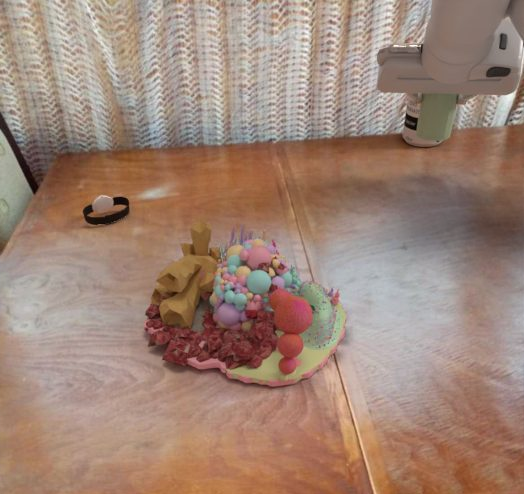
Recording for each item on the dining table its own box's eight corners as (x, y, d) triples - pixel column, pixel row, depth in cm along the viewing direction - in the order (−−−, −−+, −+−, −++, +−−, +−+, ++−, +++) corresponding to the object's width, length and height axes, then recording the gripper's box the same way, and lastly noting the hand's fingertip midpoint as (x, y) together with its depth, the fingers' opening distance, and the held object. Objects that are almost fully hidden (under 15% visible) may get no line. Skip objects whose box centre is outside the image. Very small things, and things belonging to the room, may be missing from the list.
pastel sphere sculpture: (114, 362, 62) (94, 297, 56) (188, 255, 79) (179, 196, 73) (329, 399, 56) (333, 331, 50) (359, 276, 73) (365, 214, 67)
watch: (125, 206, 91) (120, 185, 89) (136, 216, 88) (132, 196, 86) (81, 219, 88) (75, 199, 86) (91, 231, 85) (86, 210, 83)
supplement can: (449, 136, 109) (465, 54, 99) (435, 151, 104) (451, 65, 94) (410, 130, 112) (422, 50, 102) (395, 143, 107) (406, 60, 97)
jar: (449, 129, 91) (461, 64, 85) (451, 141, 87) (464, 74, 81) (415, 128, 92) (425, 64, 85) (416, 140, 88) (426, 74, 81)
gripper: (375, 67, 74) (371, 116, 88) (532, 70, 71) (503, 120, 85) (380, 24, 75) (375, 79, 88) (536, 24, 71) (506, 82, 85)
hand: (438, 99), depth 87 cm, fingers closed on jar, 5 cm apart
